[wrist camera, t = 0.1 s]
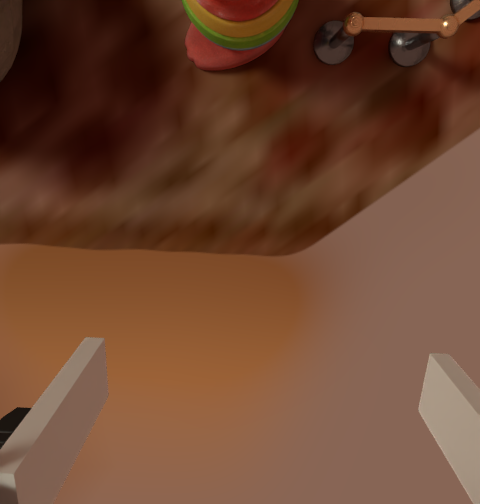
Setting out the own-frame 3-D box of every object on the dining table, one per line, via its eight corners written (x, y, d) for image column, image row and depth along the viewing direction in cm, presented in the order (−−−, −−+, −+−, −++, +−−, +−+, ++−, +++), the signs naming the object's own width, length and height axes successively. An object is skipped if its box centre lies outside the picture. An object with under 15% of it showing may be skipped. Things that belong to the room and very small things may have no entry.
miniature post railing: (318, -29, 36) (339, -74, 28) (494, -25, 36) (567, -69, 28) (312, 64, 38) (329, 48, 30) (477, 68, 38) (539, 53, 30)
